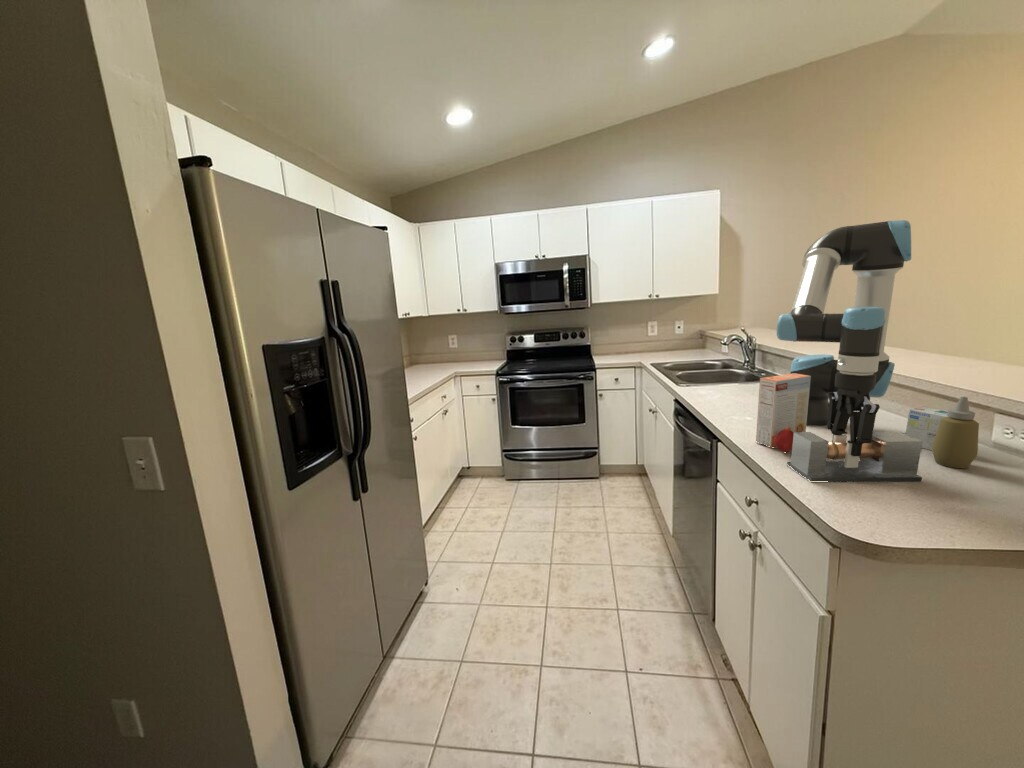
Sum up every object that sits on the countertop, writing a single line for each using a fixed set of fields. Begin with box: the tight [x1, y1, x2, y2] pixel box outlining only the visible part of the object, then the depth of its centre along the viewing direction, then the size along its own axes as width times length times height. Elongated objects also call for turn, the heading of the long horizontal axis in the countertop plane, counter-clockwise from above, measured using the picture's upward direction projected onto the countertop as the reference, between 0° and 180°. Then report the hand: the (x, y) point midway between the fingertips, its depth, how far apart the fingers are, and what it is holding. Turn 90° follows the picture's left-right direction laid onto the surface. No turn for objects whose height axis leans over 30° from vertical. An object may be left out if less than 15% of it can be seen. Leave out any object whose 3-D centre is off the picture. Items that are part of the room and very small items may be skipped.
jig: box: [786, 431, 923, 483], centre depth 101 cm, size 10×25×10 cm, turn 85°
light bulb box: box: [905, 406, 948, 451], centre depth 115 cm, size 11×7×11 cm, turn 17°
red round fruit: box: [774, 427, 794, 454], centre depth 116 cm, size 6×6×8 cm
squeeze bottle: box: [931, 396, 980, 469], centre depth 103 cm, size 8×8×18 cm
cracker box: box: [755, 373, 811, 448], centre depth 123 cm, size 14×6×21 cm, turn 108°
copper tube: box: [826, 441, 882, 461], centre depth 101 cm, size 4×18×4 cm, turn 85°
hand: (843, 462), depth 102 cm, fingers closed on copper tube, 4 cm apart
